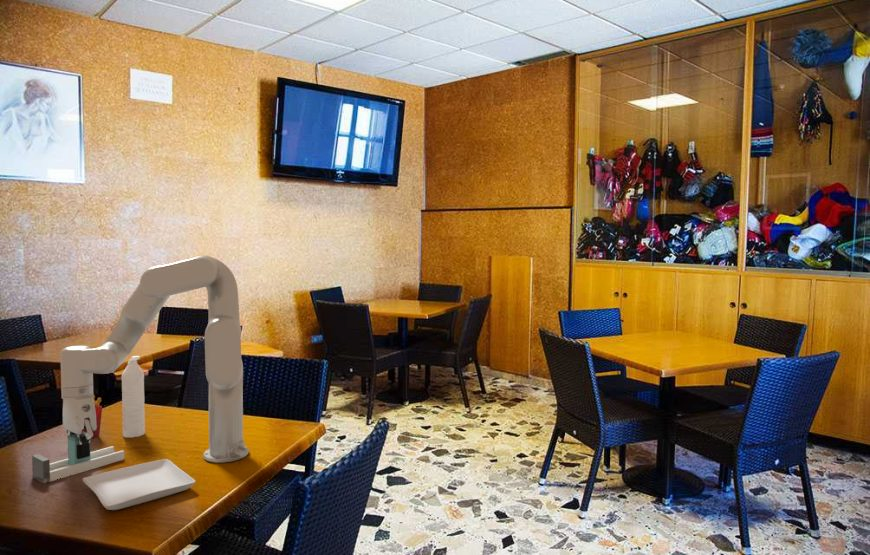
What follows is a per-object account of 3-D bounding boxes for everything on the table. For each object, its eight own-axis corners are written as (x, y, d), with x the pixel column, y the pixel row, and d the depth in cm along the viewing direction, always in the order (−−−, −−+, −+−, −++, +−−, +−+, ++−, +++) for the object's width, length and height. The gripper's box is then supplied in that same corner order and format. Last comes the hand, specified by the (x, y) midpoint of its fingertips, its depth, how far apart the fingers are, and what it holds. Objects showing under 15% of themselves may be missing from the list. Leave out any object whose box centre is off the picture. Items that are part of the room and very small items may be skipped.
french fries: (88, 433, 192) (87, 388, 191) (107, 436, 189) (106, 390, 188) (63, 442, 183) (62, 394, 182) (82, 445, 181) (81, 397, 180)
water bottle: (142, 437, 189) (141, 360, 187) (120, 438, 187) (118, 361, 185) (148, 428, 197) (147, 355, 195) (127, 430, 195) (125, 356, 194)
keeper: (90, 463, 163) (90, 434, 163) (75, 467, 160) (74, 438, 160) (83, 459, 166) (83, 431, 165) (68, 464, 162) (67, 435, 162)
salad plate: (197, 492, 150) (197, 479, 149) (105, 520, 135) (105, 505, 134) (166, 468, 165) (166, 456, 164) (81, 490, 150) (80, 477, 150)
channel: (124, 459, 170) (123, 439, 170) (43, 483, 153) (43, 461, 152) (112, 454, 174) (112, 434, 173) (32, 477, 156) (32, 455, 156)
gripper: (106, 393, 160) (108, 458, 161) (77, 383, 169) (79, 445, 171) (77, 399, 154) (79, 466, 155) (48, 388, 163) (50, 453, 164)
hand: (79, 454), depth 163 cm, fingers closed on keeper, 4 cm apart
